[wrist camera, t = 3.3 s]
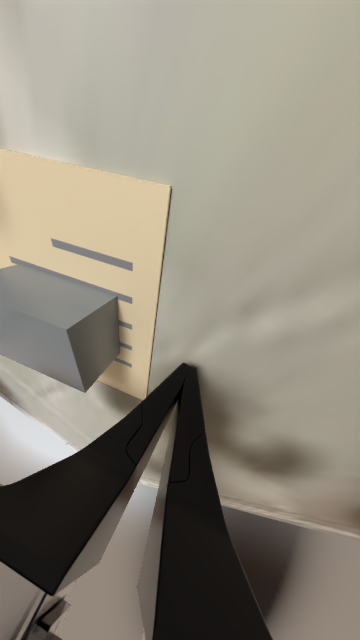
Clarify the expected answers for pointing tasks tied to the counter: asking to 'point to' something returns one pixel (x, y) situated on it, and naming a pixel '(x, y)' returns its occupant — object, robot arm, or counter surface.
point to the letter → (91, 244)
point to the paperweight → (57, 325)
